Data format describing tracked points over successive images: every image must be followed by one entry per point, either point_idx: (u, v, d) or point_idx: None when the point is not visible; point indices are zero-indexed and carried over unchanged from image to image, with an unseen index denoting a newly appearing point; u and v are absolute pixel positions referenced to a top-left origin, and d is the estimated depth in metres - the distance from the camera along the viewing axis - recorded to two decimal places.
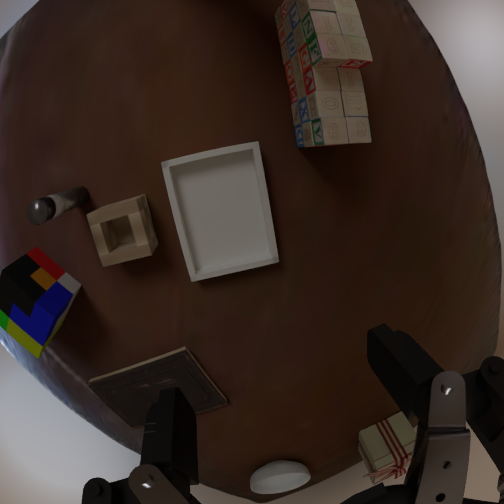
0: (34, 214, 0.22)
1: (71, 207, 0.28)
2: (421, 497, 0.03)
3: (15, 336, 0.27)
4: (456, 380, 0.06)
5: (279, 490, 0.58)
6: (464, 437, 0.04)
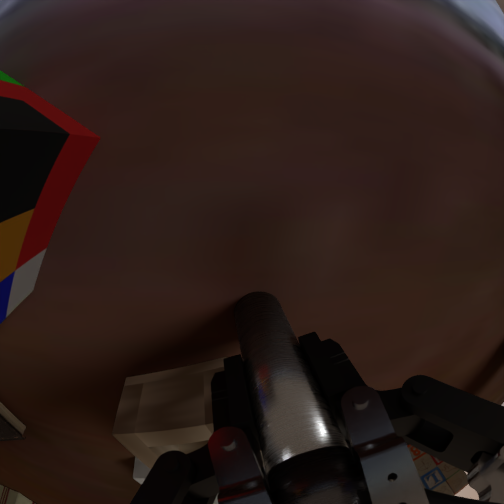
0: None
1: None
2: None
3: None
4: (369, 396, 0.07)
5: None
6: (399, 446, 0.05)
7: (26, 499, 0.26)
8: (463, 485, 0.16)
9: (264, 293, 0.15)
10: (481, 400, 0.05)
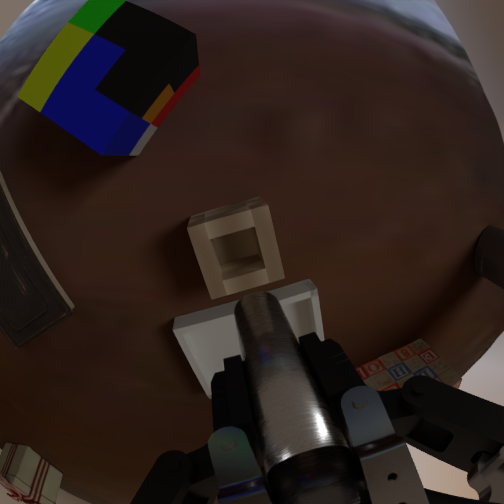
0: None
1: None
2: None
3: (56, 45, 0.11)
4: (369, 396, 0.07)
5: None
6: (399, 446, 0.05)
7: (35, 453, 0.38)
8: (455, 381, 0.28)
9: (264, 292, 0.15)
10: (481, 401, 0.05)
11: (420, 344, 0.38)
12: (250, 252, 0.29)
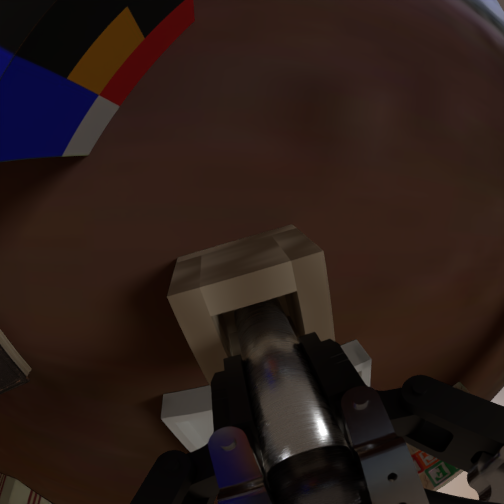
0: None
1: None
2: None
3: None
4: (369, 397, 0.07)
5: None
6: (399, 446, 0.05)
7: (24, 486, 0.27)
8: None
9: None
10: (481, 401, 0.05)
11: None
12: None
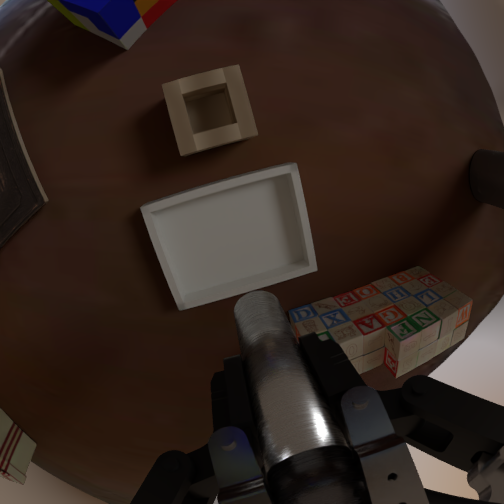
0: None
1: None
2: None
3: None
4: (369, 397, 0.07)
5: None
6: (399, 446, 0.05)
7: (7, 417, 0.35)
8: (465, 302, 0.25)
9: (264, 292, 0.15)
10: (481, 401, 0.05)
11: (418, 270, 0.35)
12: (225, 126, 0.26)
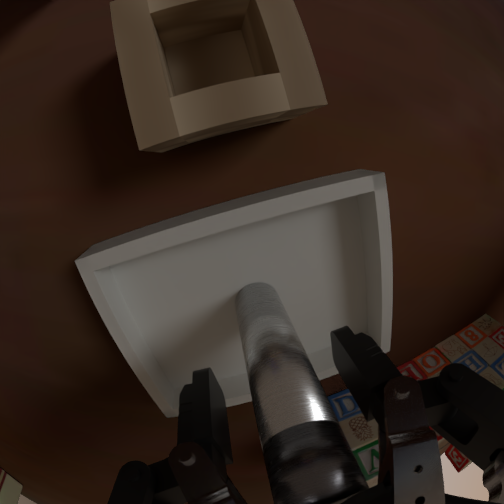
0: None
1: None
2: None
3: None
4: (411, 385, 0.07)
5: None
6: (430, 439, 0.04)
7: None
8: None
9: (263, 283, 0.15)
10: None
11: (488, 322, 0.21)
12: None
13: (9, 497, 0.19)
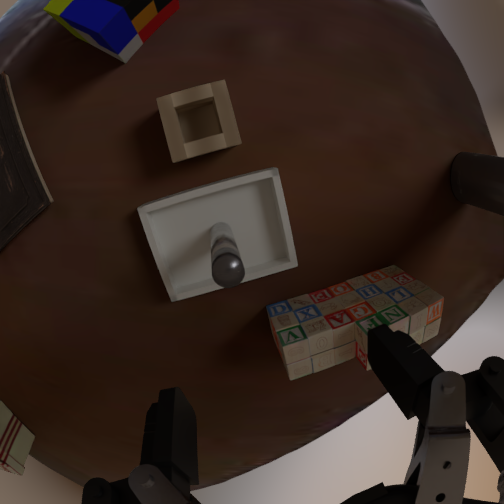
0: (226, 270, 0.22)
1: None
2: (421, 497, 0.03)
3: None
4: (456, 380, 0.06)
5: None
6: (464, 437, 0.04)
7: (7, 409, 0.38)
8: (435, 300, 0.29)
9: (223, 222, 0.32)
10: None
11: (393, 269, 0.38)
12: (213, 135, 0.29)
13: (22, 445, 0.35)
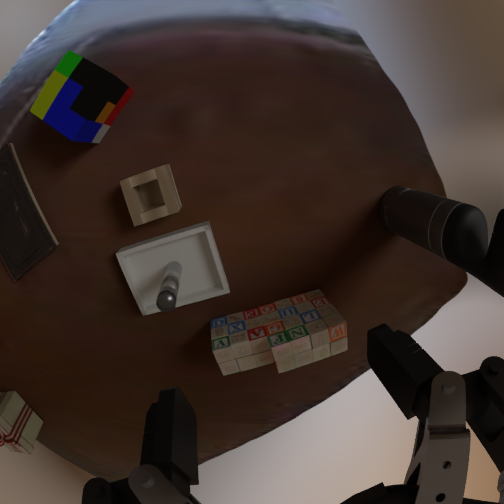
0: (164, 302, 0.34)
1: None
2: (421, 497, 0.03)
3: (49, 83, 0.24)
4: (456, 380, 0.06)
5: None
6: (464, 437, 0.04)
7: (20, 398, 0.51)
8: (337, 323, 0.41)
9: (175, 261, 0.45)
10: None
11: (316, 293, 0.50)
12: (164, 200, 0.41)
13: (32, 429, 0.48)
